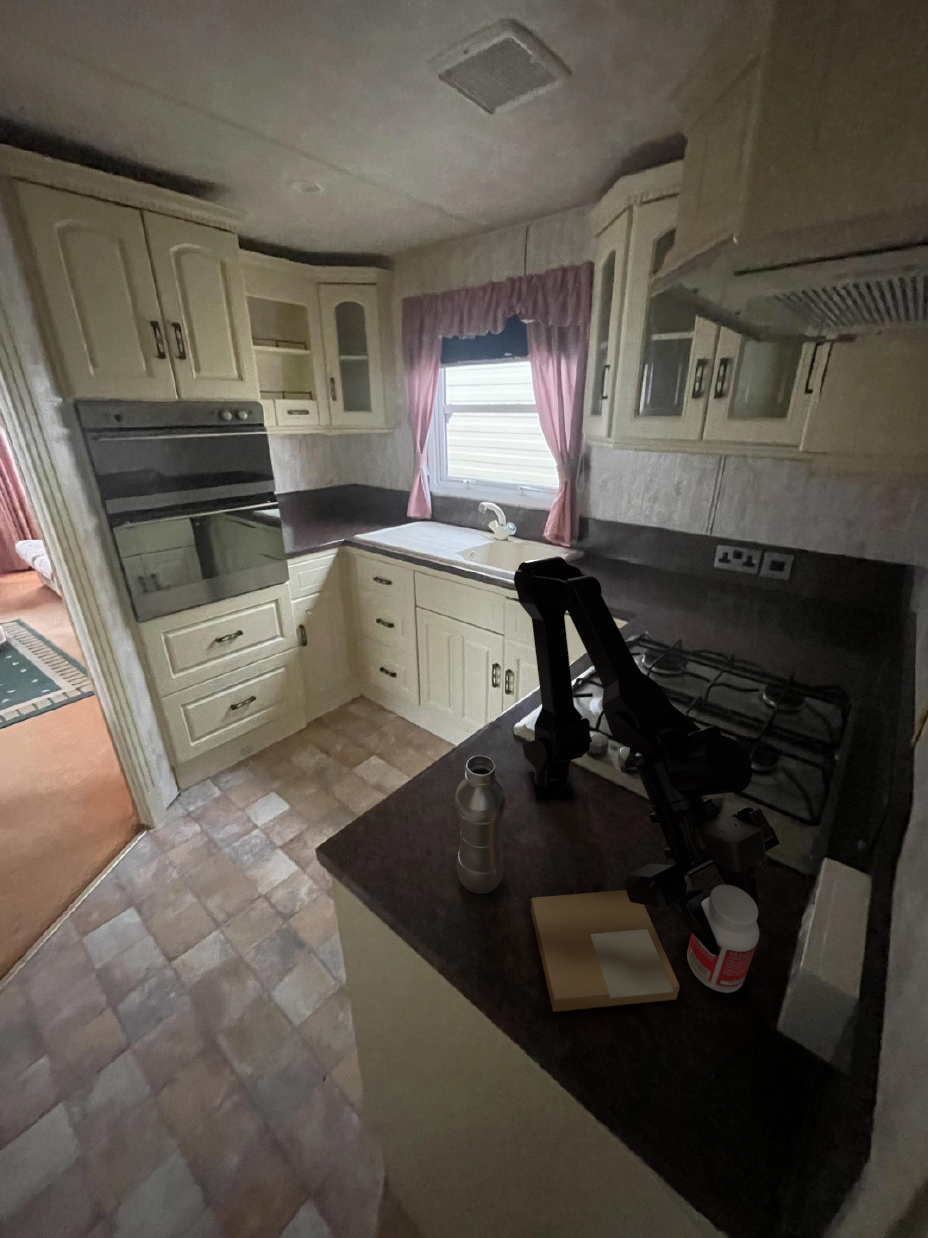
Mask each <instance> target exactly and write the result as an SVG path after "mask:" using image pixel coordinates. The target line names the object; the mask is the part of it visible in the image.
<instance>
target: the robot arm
mask: <svg viewBox="0 0 928 1238" xmlns="http://www.w3.org/2000/svg"><path fill="white" fill-rule="evenodd" d="M514 571H515V572H514V574H513V584H514V588H515V591H516V594H517V599H518V603H519V604H520V606H521V607H522V609H524V611H525V612H526V613H527V615H528V616H529V617H530V618H531V625H532V633H533V642H534V649H535V657H536V666H537V675H538V683H539V691H540V692H539V693H540V701H541V709H540V711H539V714H538V716H537V719H536V721H535V723H534V724H533V725H534V726H533V727H534V728H533V729H534V730H533V731H534V733H533V735H534V739H533V740H531V741H528V742H526V743H523V744H522V750H523V756H524V758H525V759H526V760H527V761H528V762H529V763H530V764H531V766H533V767H534V770H530V771H528V778H529V782H530V786H531V788H532V792H533V795H534V799H535V800H536V801H549V800H562V799H574V797H575V792H574V790H573V787H572V784H571V782H570V779H569V778H570V771H571V770H570V769H571V762H572V761H573V760H577V759H581V758H583V757H584V755H586V754H587V753H588V752H589V751H590V749H591V743H593V739H592V738H593V737H592V736H591V721H590V720H589V718H587V717H585V716H583V715H582V714H581V713H580V711H579V710H578V709H577V707H576V706H575V701H574V693H573V691H574V690H573V684H572V673H571V663H570V656H569V645H568V637H567V636H568V635H567V627H566V617H565V616H566V613H568V616H569V617H570V619H571V622H572V624H573V627H574V628H575V631H576V632H577V634H578V636H579V639H580V640H581V643H582V645H583V647H584V649H585V651H586V653H587V656H588V657H589V660H590V662H591V664H592V665H593V668H594V670H595V672H596V674H597V676H598V679H599V681H600V683H601V687H602V700H601V708H602V710H603V714H604V717H605V719H606V723H607V726H608V730H609V732H610V734H611V735H612V737H613V738H614V740H615V741H616V742H617V743H618V744H622V745H623V746H625V747H626V748H627V749H629V752H628V755H627V757H626V758H625V762H624V767H625V768H626V769H632V768H636V771H637V773H638V776H639V778H640V780H641V782H642V785H643V787H644V790H645V792H646V795H647V797H648V799H649V802H650V805H651V808H652V809H653V812H652V813H650V814H648V817H649V819H650V822H651V824H659V827H660V829H661V832H662V834H663V836H664V839H665V841H666V844H667V846H668V847H666V848H664V849H663V850H662V851H663V854H664V856H665V858H666V860H674V862H672V863H670V864H661V863H660V864H659V863H647V864H645V865H643V866H640V867H639V868H636V869H634V870H633V871H631V872H628V873H627V874H625V878H624V890H626V892H627V895H628V898H629V900H630V902H632V903H638V904H643V905H644V906H649V907H653V908H654V907H656V908H664V907H667V908H668V909H669V910H670V911H671V912H672V913H673V914H674V915H675V916H676V917H677V918H678V919H679V920H680V921H681V922H682V923H683V924H684V926H686V927H687V929H688V930H689V931H690V932H691V934H692V933H693V934H694V935H695V936H696V937H697V939H698V940H699V941H700V942H701V943H702V944H703V945H704V946H705V947H706V949H707V950H708V951H709V952H710V953H711V954H713V955H719V954H720V951H719V948H718V944H717V941H716V938H715V936H714V934H713V931H712V929H711V926H710V924H709V922H708V919H707V917H706V914H705V912H704V909H703V907H702V902H703V898H704V893H705V892H704V889H703V890H702V889H696V888H694V887H693V885H692V883H691V880H690V877H692V876H694V875H696V874H698V873H700V872H701V871H704V870H705V869H708V868H709V867H711V866H713V865H714V867H715V868H716V870H717V872H718V873H719V875H720V877H721V879H722V881H723V882H724V885H731V886H734V887H737V888H739V889H741V890H743V891H744V892H746V893H747V894H748V895H749V896H750V897H751V898H752V899H753V900H754V902H755V903H756V905H757V908H758V917H757V921H756V922H757V924H758V927H759V930H760V929H761V928H762V925H761V916H760V915H761V914H760V907H759V896H758V885H757V883H758V882H757V880H758V879H757V875H758V874H757V873H758V871H759V870H760V868H761V866H762V864H763V863H764V862H765V861H766V860H767V858H768V855H767V852H768V851H770V850H771V849H774V848H775V847H777V846H778V845H780V844H781V843H780V840H779V839H778V836H777V833H776V832H775V830H774V828H773V827H772V826H771V825H770V823H769V821H768V819H767V818H766V815H765V814H764V812H763V811H762V809H761V808H760V807H757V806H754V805H752V804H748V805H746V806H744V807H742V808H740V809H739V810H737V812H736V813H734V812H733V813H730V814H729V815H725V814H722V813H721V812H720V811H719V809H718V807H717V805H716V803H715V802H714V801H713V799H712V798H703V796H714V795H724V794H733V793H740V792H743V791H745V790H746V789H747V788H748V787H749V785H750V784H751V782H752V778H753V766H752V761H751V758H750V755H749V754H748V752H747V749H745V748H743V747H742V746H741V744H740V743H739V742H737V740H735V739H733V738H732V737H730V736H727V735H723V734H722V732H721V730H720V728H719V726H718V725H716V724H714V725H713V724H712V725H710V726H707V727H705V728H700V727H699V726H698V725H697V724H695V721H693V720H692V719H690V718H688V716H686V714H684V713H683V712H681V711H680V710H679V709H678V708H676V706H674V705H673V703H672V702H671V700H670V699H669V698H668V696H667V694H666V693H665V691H664V690H663V689H662V688H661V686H660V684H659V683H658V682H657V681H655V680H654V679H653V678H651V677H650V676H648V675H647V674H645V673H644V672H643V671H642V670H641V668H640V666H639V665H638V664H637V662H636V659H635V658H634V656H633V654H632V653H631V650H630V648H629V647H628V644H627V642H626V640H625V638H624V637H623V634H622V632H621V631H620V628H619V627H618V625H617V622H616V621H615V619H614V617H613V615H612V613H611V610H610V609H609V607H608V605H607V603H606V601H605V599H604V597H603V595H602V585H601V582H600V581H599V580H598V579H597V578H596V577H595V576H592V575H589V574H586V572H585V570H584V569H583V567H581V566H579V565H575V564H572V563H569V562H567V560H566V559H564V558H563V557H562V556H559V555H556V556H551V557H543V558H539V559H538V558H537V559H533V560H527V561H523V562H521V563H520V564H519V565H518V567H517V569H516V570H514Z"/></svg>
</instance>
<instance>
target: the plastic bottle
mask: <svg viewBox="0 0 928 1238" xmlns="http://www.w3.org/2000/svg"><path fill="white" fill-rule="evenodd" d="M496 776H497V774H496V764H495V761H494V760H493V759H491V757H489V756H487V755H486V756H485V755H473V756H471V757H470V758H469V759H467V761H466V763H465V772H464V779H463V780H462V781H461V782H460V783H459V784H458V786H457V789H456V791H455V794H454V795H455V796H454V801H455V807H456V812H457V813H456V814H457V818H458V824H459V834H460V835H459V836H460V837H459V838H460V839H459V848H458V849H459V850H458V852H457V858H456V872H457V877H458V880H459V881H460V883H461V884H462V886H463V887H464V888H465V889H467V890H468V891H470V892H472V893H473V894H478V895H486V894H488V893H489V894H490V893H491V892H492V891H494V890H496V889H497V887H499V886H500V884H501V882H502V880H503V875H504V872H505V865H504V858H503V853H502V847H501V831H502V829H501V828H502V820H503V816H504V811H505V807H506V795H505V792H504V789H503V787H502V786H501V784H500V783H499V782H498V781H497V779H496V778H497V777H496Z"/></svg>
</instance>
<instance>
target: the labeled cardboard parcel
mask: <svg viewBox="0 0 928 1238" xmlns="http://www.w3.org/2000/svg"><path fill="white" fill-rule="evenodd" d="M530 904H531V905H530V913H531V917H532V922H533V927H534V932H535V936H536V941H537V946H538V949H539V954H540V959H541V963H542V964H541V965H542V969H543V973H544V978H545V982H546V986H547V991H548V997H549V1001H550V1004H551V1010H552V1012H553V1013H555V1012H556V1013H557V1012H567V1011H575V1010H586V1009H596V1008H597V1009H598V1008H607V1007H615V1006H624V1005H634V1004H643V1003H644V1004H645V1003H655V1002H664V1001H665V1002H666V1001H674V1000H677V998H678V994H679V992H680V987H681V986H680V983H679V982H678V979H677V977H676V975H675V972H674V970H673V967H672V965H671V963H670V961H669V958H668V956H667V954H666V952H665V949H664V947H663V944H662V943H661V940H660V938H659V935H658V933H657V930H656V928H655V927H654V925H653V922H652V920H651V917H650V915H649V912H648V910H647V908H646V905H643V904H638V903H632V902H630V900H629V898H628V895H627V892H626V890H625V889H622V890H621V889H620V890H610V891H609V890H608V891H596V892H585V893H575V894H563V895H562V894H560V895H553V896H552V895H549V896H539V897H538V896H537V897H531V902H530Z"/></svg>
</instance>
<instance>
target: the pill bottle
mask: <svg viewBox="0 0 928 1238" xmlns="http://www.w3.org/2000/svg"><path fill="white" fill-rule="evenodd" d="M702 907H703V909H704V912H705V914H706V917H707V919H708V922H709V924H710V926H711V929H712V931H713V934H714V936H715V938H716V941H717V944H718V948H719V951H720V954H719V955H713V954H711V953H710V952H709V951H708V950H707V949H706V947H705V946H704V945H703V944H702V943H701V942H700V941H699V940H698V939H697V937H696V936H695V935H694V934H693V933H692V932H691V935H690V939H689V943H688V947H687V952H686V958H687V962H688V965H689V968H690V971H692V973H693V975H694V976H695V977H696V978H697V979H698V981H700V983H702V984H703V985H705V987H708V988H709V989H711V990H714V991H716V992H718V993H719V992H720V993H724V994H726V993H727V994H729V993H735V992H736V991H738V990H739V989H740V988H741V987H742V986H743V985H744V982H745V980H746V977H747V975H748V971H749V968H750V965H751V963H752V960H753V957H754V954H755V952H756V949H757V945H758V942H759V939H760V929H759V927H758V924H757V922H756V921H757V917H758V908H757V905H756V903H755V902H754V900H753V899H752V898H751V897H750V896H749V895H748V894H747V893H746V892H744V891H743V890H741V889H739V888H737V887H734V886H731V885H726V884H719V885H716V886H715V887H713V889H711V891H710V895H709V896H708V897H707V898H705V899H704V900H703V899H702Z"/></svg>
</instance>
